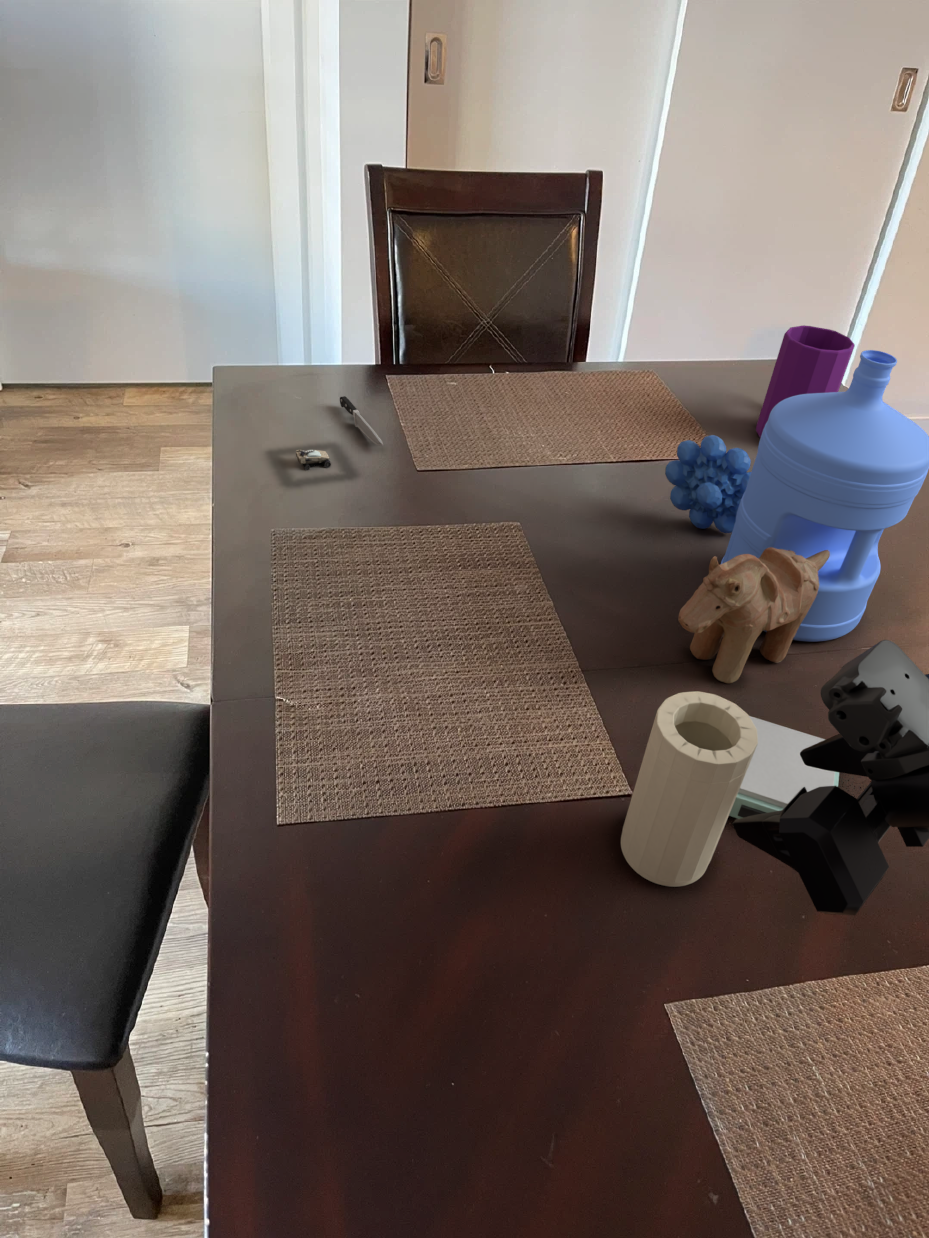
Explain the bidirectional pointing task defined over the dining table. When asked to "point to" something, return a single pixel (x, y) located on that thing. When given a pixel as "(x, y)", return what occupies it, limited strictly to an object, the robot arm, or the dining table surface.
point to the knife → (360, 421)
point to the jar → (686, 786)
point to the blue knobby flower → (709, 482)
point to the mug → (806, 366)
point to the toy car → (313, 458)
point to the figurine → (750, 607)
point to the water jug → (833, 489)
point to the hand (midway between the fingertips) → (770, 791)
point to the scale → (778, 771)
